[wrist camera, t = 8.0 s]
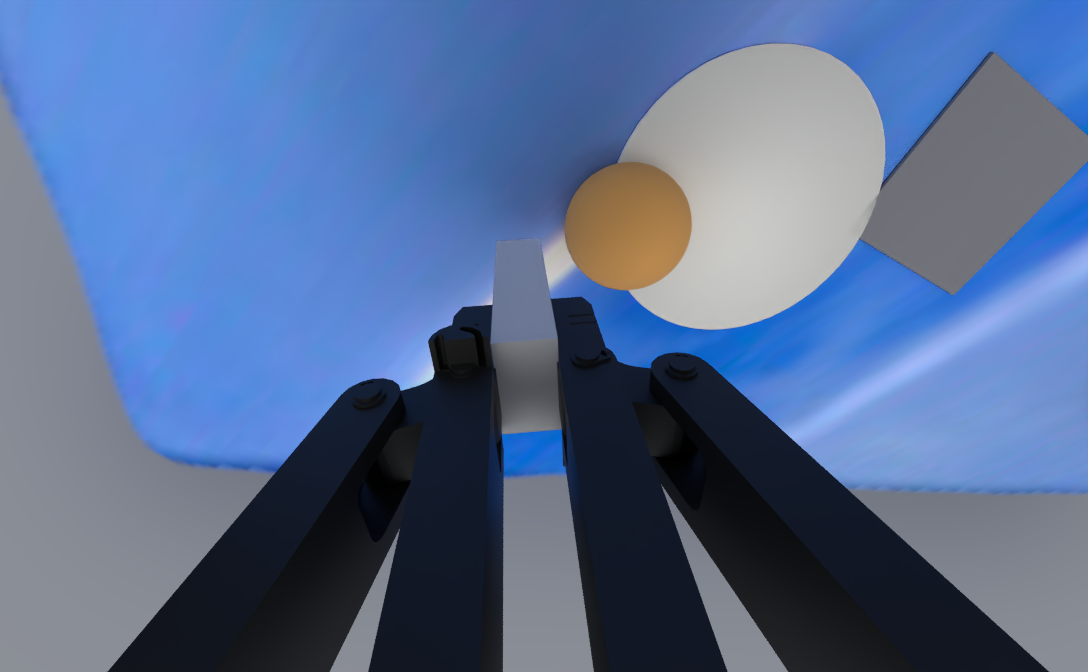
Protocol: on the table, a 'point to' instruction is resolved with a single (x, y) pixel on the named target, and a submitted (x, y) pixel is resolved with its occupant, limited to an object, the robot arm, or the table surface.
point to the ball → (628, 226)
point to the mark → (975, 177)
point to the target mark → (761, 180)
